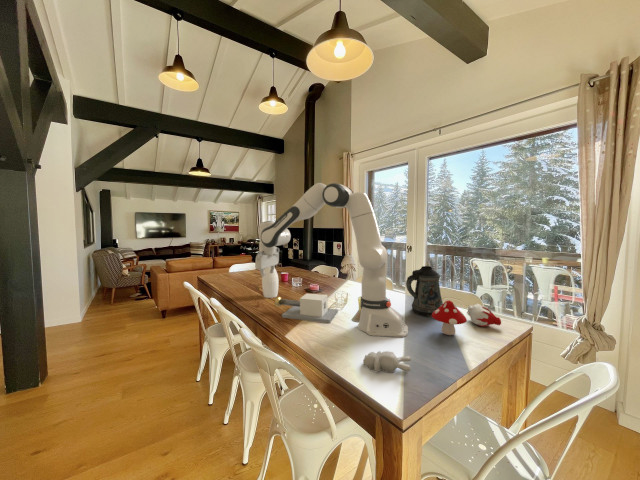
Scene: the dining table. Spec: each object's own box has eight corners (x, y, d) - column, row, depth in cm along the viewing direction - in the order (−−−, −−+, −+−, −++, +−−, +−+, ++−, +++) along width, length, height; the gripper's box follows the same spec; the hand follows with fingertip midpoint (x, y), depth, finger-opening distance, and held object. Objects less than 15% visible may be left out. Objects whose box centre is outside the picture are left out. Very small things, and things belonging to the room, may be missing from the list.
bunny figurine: (366, 347, 92) (409, 349, 87) (367, 360, 92) (411, 363, 87) (360, 360, 83) (409, 363, 78) (362, 375, 84) (410, 379, 78)
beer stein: (450, 313, 136) (451, 267, 135) (429, 321, 125) (430, 271, 124) (423, 305, 150) (423, 263, 148) (401, 312, 139) (402, 266, 137)
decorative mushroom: (469, 343, 102) (470, 307, 101) (432, 338, 107) (433, 303, 106) (463, 330, 115) (464, 297, 114) (430, 326, 120) (430, 294, 119)
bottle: (282, 295, 173) (281, 258, 172) (271, 299, 164) (270, 260, 162) (270, 293, 179) (269, 257, 178) (258, 297, 170) (257, 259, 168)
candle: (466, 316, 130) (501, 327, 120) (460, 322, 122) (497, 335, 112) (469, 299, 129) (505, 309, 119) (463, 304, 121) (501, 316, 111)
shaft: (308, 307, 139) (308, 298, 139) (305, 310, 134) (305, 301, 134) (279, 304, 145) (278, 295, 144) (274, 307, 140) (274, 298, 139)
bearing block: (337, 312, 140) (337, 294, 139) (329, 323, 125) (329, 303, 124) (294, 307, 148) (294, 290, 147) (281, 317, 133) (281, 298, 132)
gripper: (262, 252, 131) (262, 279, 132) (280, 248, 150) (280, 271, 151) (251, 252, 133) (252, 278, 134) (271, 248, 152) (271, 271, 153)
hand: (267, 274), depth 143 cm, fingers open, 8 cm apart
